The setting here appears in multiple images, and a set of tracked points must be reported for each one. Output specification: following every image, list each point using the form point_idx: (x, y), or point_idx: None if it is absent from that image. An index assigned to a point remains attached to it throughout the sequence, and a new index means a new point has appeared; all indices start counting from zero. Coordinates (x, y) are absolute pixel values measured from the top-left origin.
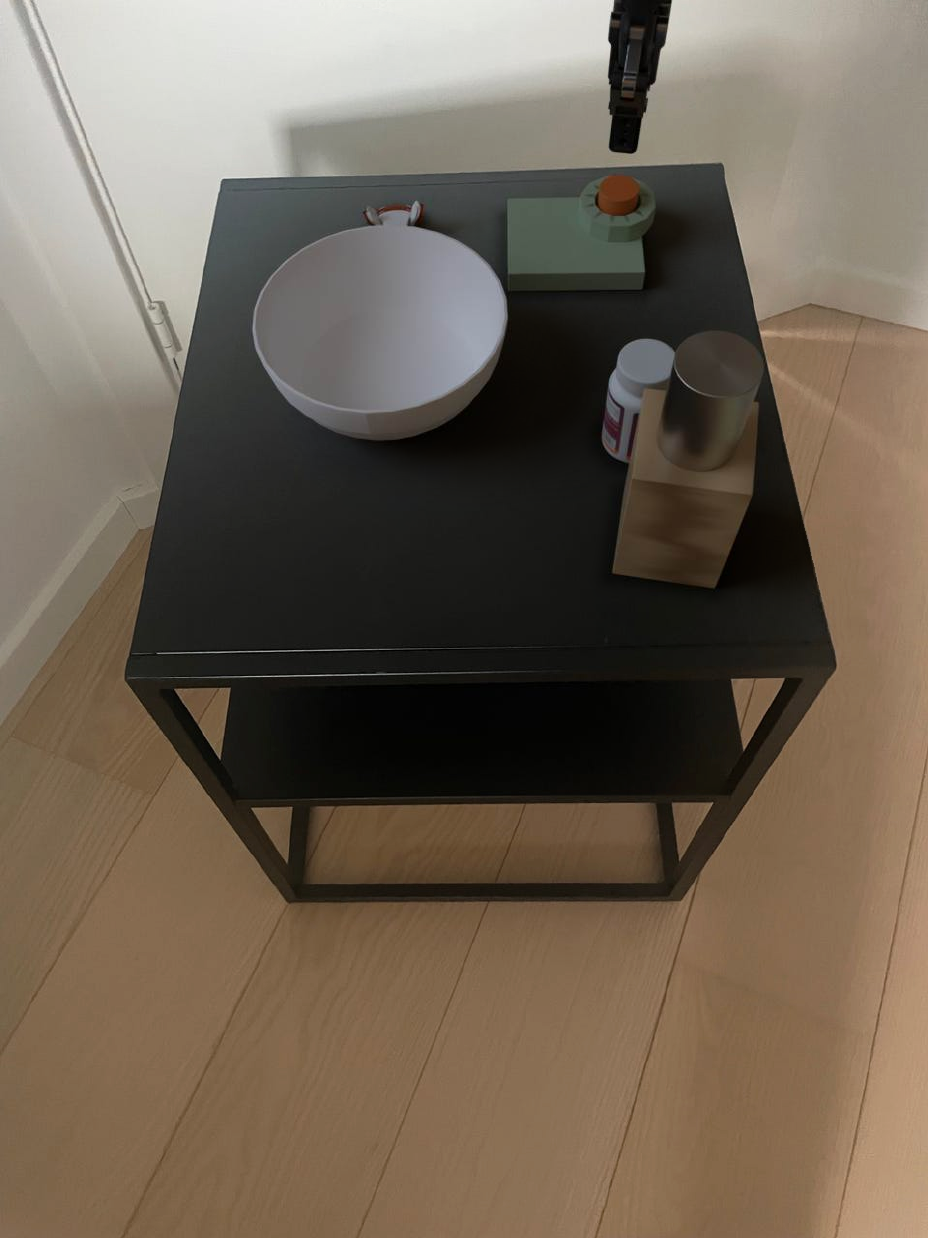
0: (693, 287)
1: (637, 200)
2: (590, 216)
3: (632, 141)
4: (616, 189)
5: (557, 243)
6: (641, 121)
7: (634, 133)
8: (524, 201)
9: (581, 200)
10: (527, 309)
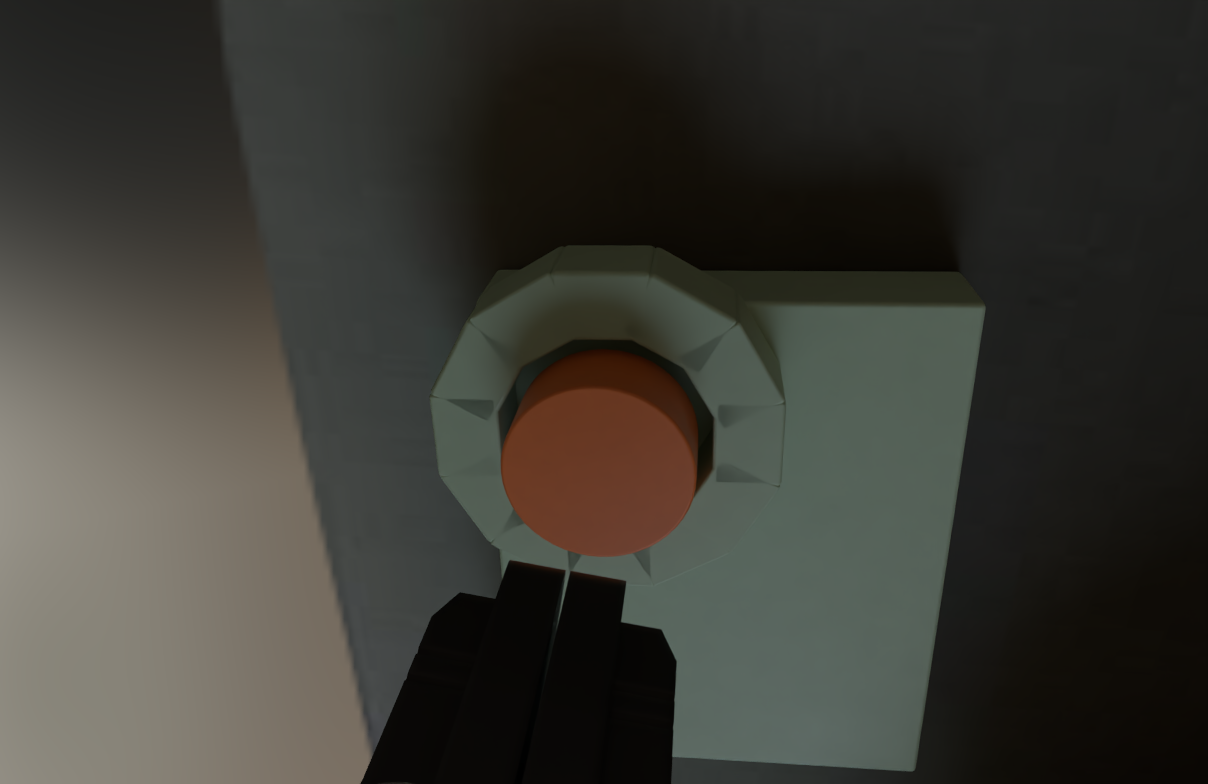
0: (977, 34)
1: (629, 367)
2: (715, 558)
3: (674, 690)
4: (612, 489)
5: (769, 618)
6: (538, 679)
7: (615, 689)
8: None
9: None
10: (995, 661)
